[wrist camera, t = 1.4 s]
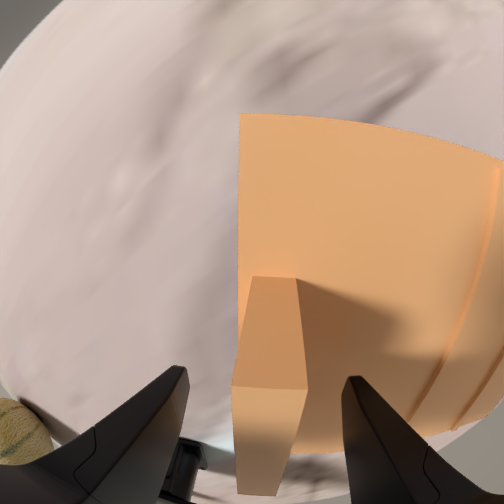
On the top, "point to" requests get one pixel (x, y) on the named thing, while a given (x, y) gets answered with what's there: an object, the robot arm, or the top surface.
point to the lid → (361, 284)
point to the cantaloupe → (21, 434)
